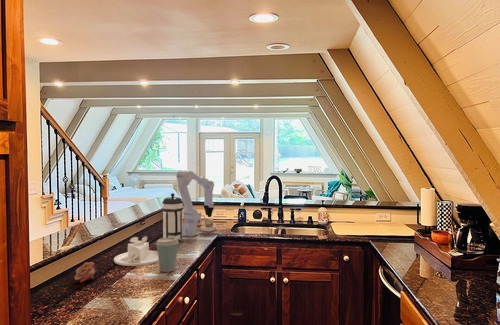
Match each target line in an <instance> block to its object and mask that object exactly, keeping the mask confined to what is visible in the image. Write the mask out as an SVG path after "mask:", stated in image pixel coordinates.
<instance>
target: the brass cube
mask: <svg viewBox="0 0 500 325" xmlns="http://www.w3.org/2000/svg"><path fill="white" fill-rule="evenodd" d="M204 226H206V227H213V226H214V219H213V218H205V220H204Z"/></svg>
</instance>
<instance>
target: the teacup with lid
mask: <svg viewBox="0 0 500 325" xmlns="http://www.w3.org/2000/svg"><path fill="white" fill-rule="evenodd" d="M197 212H198V213H199V220H198V222H197V227H198V226H201V225H202V222H205V219H206V215H204V214H202V212H201V211H199V210H197ZM202 217H203V219H202Z"/></svg>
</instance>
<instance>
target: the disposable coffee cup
mask: <svg viewBox="0 0 500 325" xmlns="http://www.w3.org/2000/svg"><path fill="white" fill-rule="evenodd" d="M179 242H180V241H179V240H177V238H176V237H168V238H163V237H162V238H159V239H158V240H157V241H155V245H156V251H157V252H158V258H159V261H158V263H159V270H160V271H161V272H163V273H164V272H166V273H169V272H173V271H174V270H175V267H176V261H177V253H178V247H179V244H180V243H179Z"/></svg>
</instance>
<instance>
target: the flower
mask: <svg viewBox="0 0 500 325" xmlns="http://www.w3.org/2000/svg"><path fill="white" fill-rule="evenodd" d="M96 270H97V268H96V267H95V263H94V262H93V261H90V262H84V263H83V264H82V265H80V266H79V267H77V268H76V270H75V273H76V275H74V277H73V278H74V280H76V281H77V280H79V283H81V284H82V283H84V282H86V281H87V280H89V279H90V278H91V280H94V279H95V277H94V275H95V273H96Z"/></svg>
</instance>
